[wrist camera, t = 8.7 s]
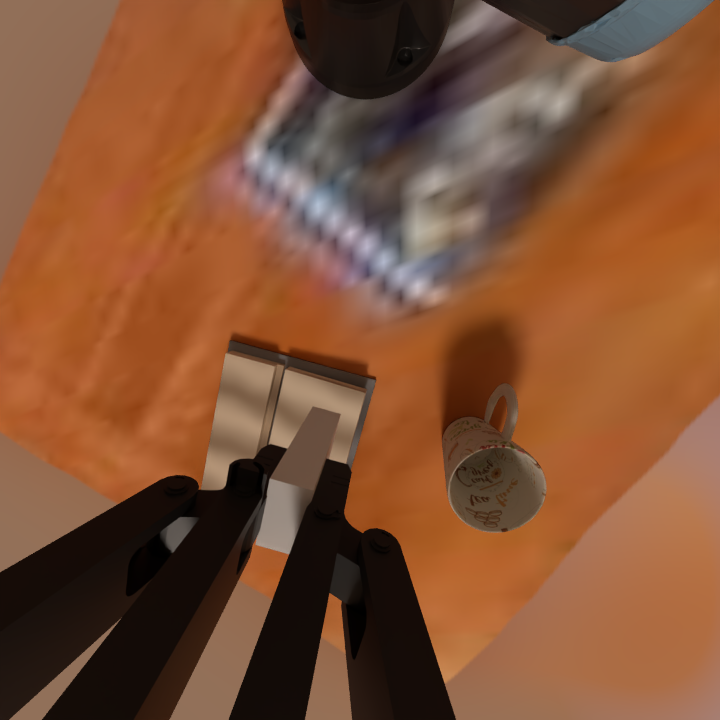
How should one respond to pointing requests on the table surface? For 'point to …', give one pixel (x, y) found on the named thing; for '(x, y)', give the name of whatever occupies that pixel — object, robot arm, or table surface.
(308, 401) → the plank
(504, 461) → the mug
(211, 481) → the laid row
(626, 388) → the table surface
